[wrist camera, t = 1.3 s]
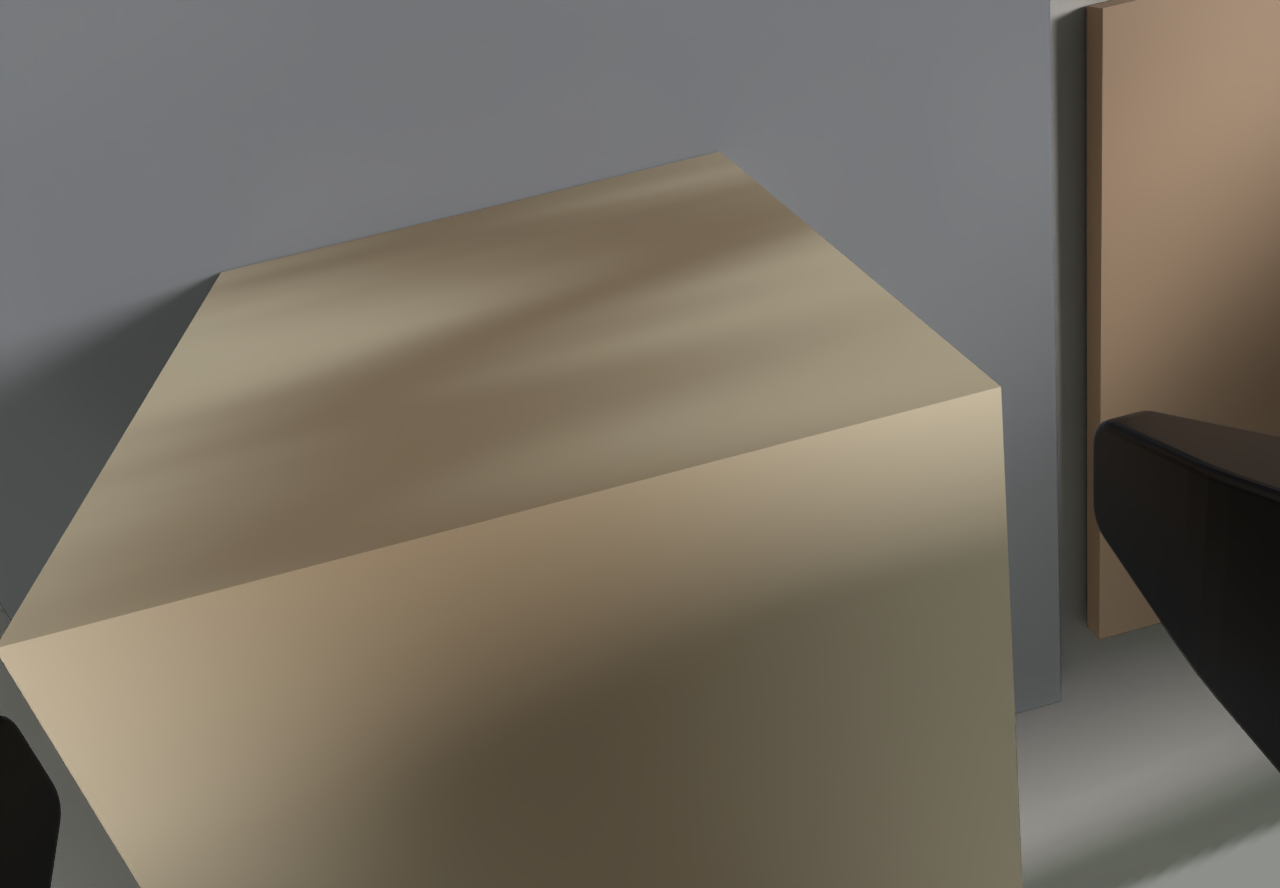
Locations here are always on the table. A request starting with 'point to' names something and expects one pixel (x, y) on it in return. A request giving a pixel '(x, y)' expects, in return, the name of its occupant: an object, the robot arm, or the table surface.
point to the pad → (1179, 233)
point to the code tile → (505, 185)
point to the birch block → (547, 568)
